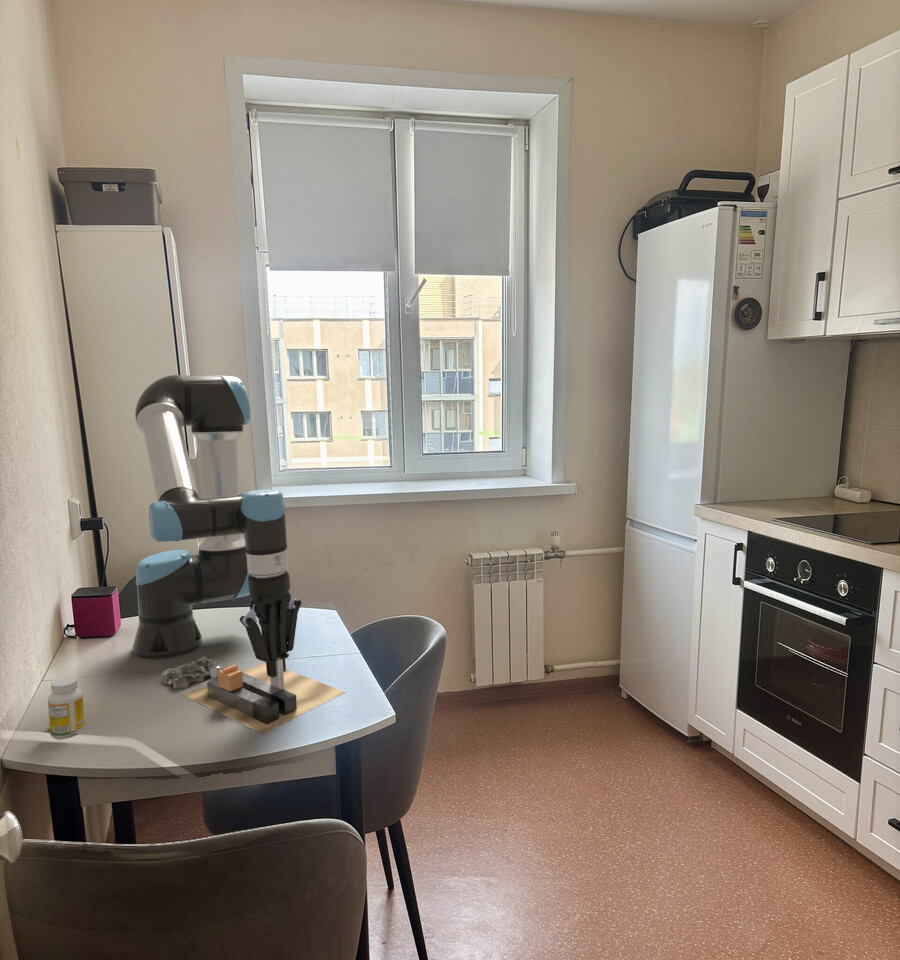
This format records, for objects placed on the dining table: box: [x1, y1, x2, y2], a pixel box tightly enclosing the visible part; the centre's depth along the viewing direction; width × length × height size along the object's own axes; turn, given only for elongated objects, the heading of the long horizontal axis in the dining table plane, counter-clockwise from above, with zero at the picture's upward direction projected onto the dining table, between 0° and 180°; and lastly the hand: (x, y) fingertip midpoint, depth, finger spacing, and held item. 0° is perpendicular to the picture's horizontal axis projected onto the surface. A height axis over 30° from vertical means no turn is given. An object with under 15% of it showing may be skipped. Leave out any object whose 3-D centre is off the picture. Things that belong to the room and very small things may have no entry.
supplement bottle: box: [47, 676, 85, 740], centre depth 115 cm, size 5×5×10 cm
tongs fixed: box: [206, 664, 279, 725], centre depth 123 cm, size 22×5×4 cm, turn 53°
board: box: [182, 662, 346, 735], centre depth 128 cm, size 25×20×1 cm
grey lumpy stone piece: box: [160, 655, 218, 689], centre depth 136 cm, size 11×8×4 cm
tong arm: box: [241, 671, 297, 715], centre depth 125 cm, size 18×3×3 cm, turn 52°
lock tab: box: [218, 664, 243, 691], centre depth 123 cm, size 4×3×4 cm
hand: (278, 690), depth 125 cm, fingers closed
